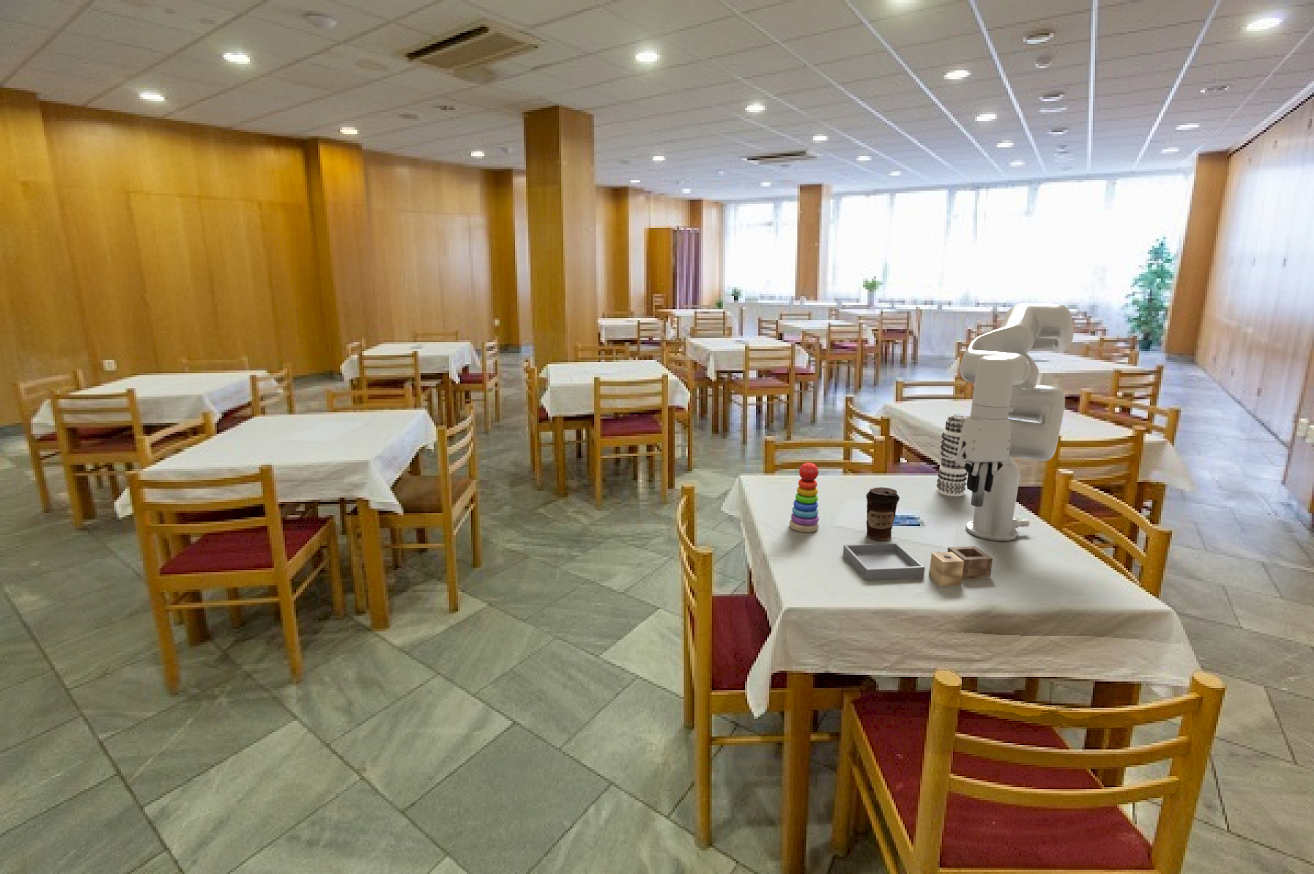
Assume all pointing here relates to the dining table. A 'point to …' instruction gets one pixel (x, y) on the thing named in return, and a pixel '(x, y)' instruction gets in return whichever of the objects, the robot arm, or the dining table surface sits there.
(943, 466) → the decorative candle
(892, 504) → the coffee cup
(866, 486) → the dining table surface
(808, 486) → the stacking toy
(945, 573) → the oak block
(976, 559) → the go block
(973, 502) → the cylinder
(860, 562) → the tray
